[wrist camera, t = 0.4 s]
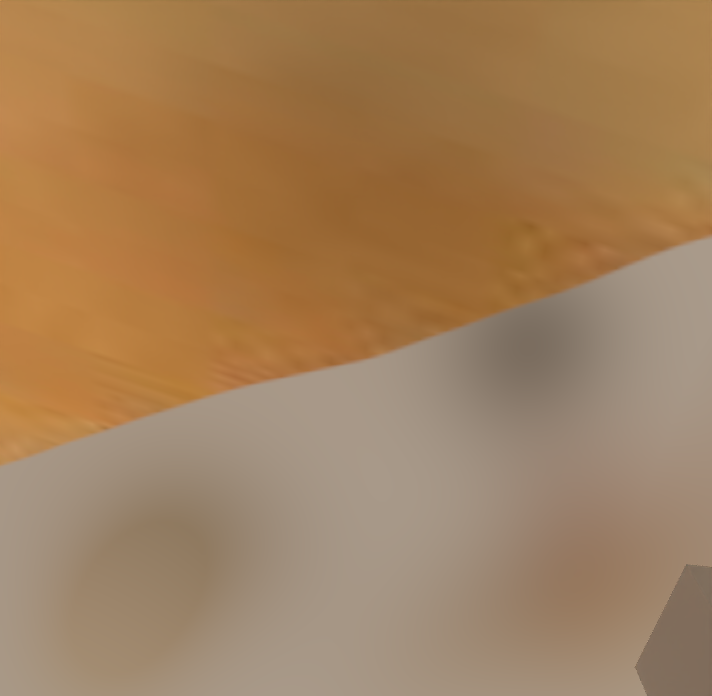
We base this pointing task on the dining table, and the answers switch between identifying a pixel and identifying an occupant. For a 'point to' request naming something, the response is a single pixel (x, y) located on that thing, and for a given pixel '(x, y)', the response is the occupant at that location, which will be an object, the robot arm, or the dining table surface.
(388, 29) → the dining table surface
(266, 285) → the dining table surface
